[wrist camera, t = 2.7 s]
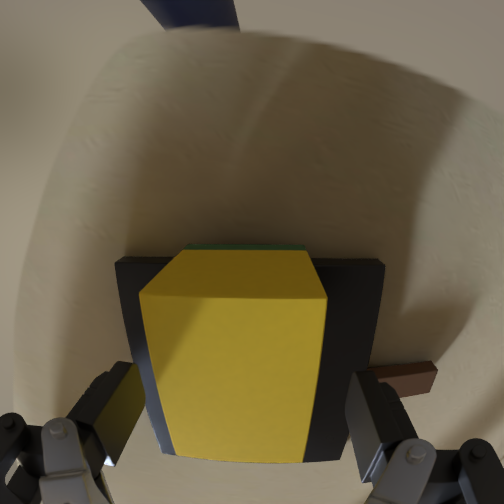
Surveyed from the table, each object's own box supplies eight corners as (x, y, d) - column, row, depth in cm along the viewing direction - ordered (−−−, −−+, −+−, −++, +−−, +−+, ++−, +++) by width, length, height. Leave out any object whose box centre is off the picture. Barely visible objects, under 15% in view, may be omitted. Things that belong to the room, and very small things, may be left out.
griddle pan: (123, 256, 16) (111, 263, 14) (453, 258, 15) (466, 265, 13) (165, 443, 20) (160, 456, 19) (395, 440, 19) (400, 453, 18)
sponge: (187, 243, 14) (137, 292, 8) (304, 244, 14) (328, 296, 8) (200, 377, 16) (175, 455, 10) (295, 380, 16) (303, 462, 10)
